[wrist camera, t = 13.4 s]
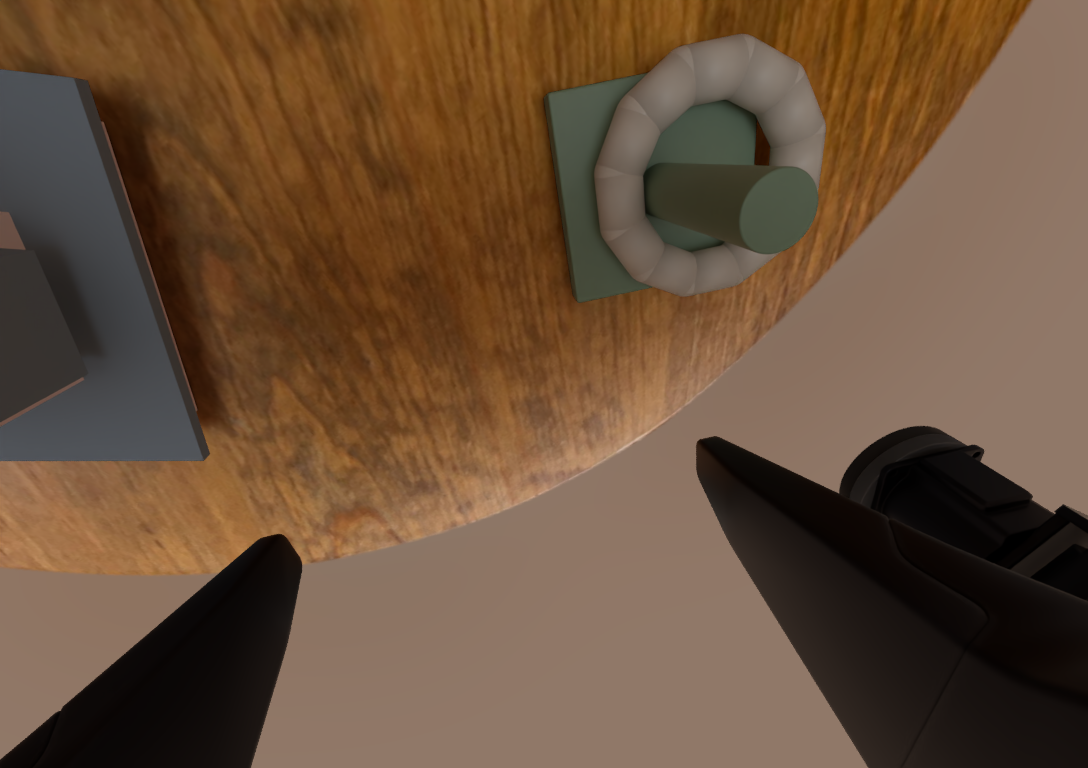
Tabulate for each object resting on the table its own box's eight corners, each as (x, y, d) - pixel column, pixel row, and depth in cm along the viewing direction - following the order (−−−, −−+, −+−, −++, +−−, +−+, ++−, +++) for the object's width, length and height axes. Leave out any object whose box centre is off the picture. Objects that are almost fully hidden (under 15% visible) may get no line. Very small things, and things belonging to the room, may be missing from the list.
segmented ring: (791, 265, 20) (817, 274, 18) (604, 305, 19) (614, 318, 18) (816, 22, 15) (854, 7, 14) (577, 70, 15) (588, 60, 14)
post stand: (735, 261, 20) (899, 329, 12) (572, 296, 20) (631, 388, 12) (744, 56, 17) (990, -40, 8) (542, 96, 16) (600, 38, 8)
